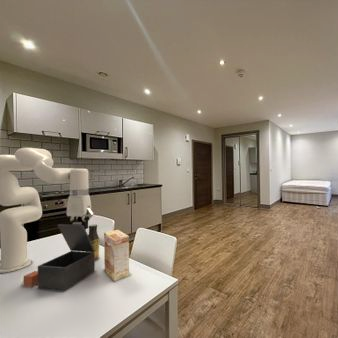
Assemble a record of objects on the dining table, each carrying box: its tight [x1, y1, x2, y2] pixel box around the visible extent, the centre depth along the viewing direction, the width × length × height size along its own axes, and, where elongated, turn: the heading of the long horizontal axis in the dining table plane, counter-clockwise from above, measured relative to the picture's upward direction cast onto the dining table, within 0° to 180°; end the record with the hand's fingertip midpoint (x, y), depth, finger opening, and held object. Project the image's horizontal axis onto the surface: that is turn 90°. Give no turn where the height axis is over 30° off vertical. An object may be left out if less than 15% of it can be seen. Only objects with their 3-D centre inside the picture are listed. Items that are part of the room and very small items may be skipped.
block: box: [23, 270, 38, 288], centre depth 87 cm, size 4×4×4 cm
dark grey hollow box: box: [37, 250, 96, 292], centre depth 90 cm, size 16×14×10 cm
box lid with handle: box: [57, 221, 95, 252], centre depth 97 cm, size 16×14×5 cm
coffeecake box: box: [103, 229, 130, 282], centre depth 96 cm, size 15×7×20 cm, turn 47°
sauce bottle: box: [87, 223, 100, 261], centre depth 110 cm, size 7×6×20 cm
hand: (79, 228), depth 96 cm, fingers closed on box lid with handle, 5 cm apart
